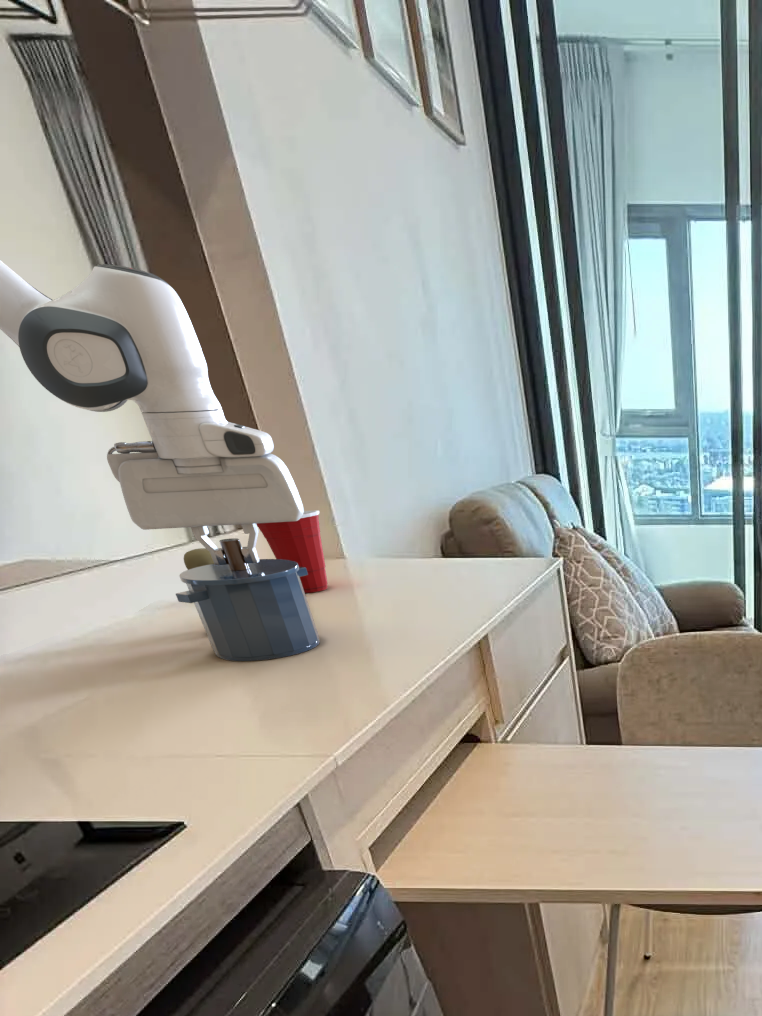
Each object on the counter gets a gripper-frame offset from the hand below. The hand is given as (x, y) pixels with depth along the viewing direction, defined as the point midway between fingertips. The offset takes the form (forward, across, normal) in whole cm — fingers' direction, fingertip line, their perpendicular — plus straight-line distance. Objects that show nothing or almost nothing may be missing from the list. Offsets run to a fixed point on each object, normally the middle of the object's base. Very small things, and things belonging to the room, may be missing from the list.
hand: (238, 563), depth 114 cm
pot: (+11, 0, 0) cm, 11 cm away
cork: (+11, -8, +13) cm, 19 cm away
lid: (+1, 0, 0) cm, 1 cm away
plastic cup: (+11, 0, +40) cm, 42 cm away
